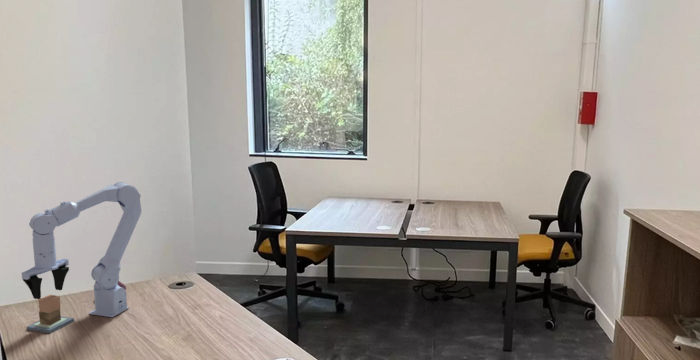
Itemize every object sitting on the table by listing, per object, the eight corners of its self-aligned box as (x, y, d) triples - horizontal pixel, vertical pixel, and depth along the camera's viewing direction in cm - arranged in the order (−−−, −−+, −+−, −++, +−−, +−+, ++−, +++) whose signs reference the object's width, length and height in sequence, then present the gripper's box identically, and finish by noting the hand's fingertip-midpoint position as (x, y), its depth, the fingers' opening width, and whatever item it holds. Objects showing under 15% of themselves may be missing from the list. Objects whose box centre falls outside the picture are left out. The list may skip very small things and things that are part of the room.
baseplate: (74, 321, 156) (73, 317, 155) (50, 333, 147) (49, 329, 147) (51, 317, 158) (51, 314, 158) (26, 329, 149) (26, 325, 149)
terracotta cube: (60, 308, 153) (59, 296, 152) (49, 313, 149) (48, 300, 149) (50, 306, 154) (49, 294, 154) (39, 311, 150) (38, 299, 150)
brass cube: (60, 319, 154) (59, 308, 153) (50, 325, 150) (49, 313, 149) (50, 318, 155) (49, 306, 154) (39, 323, 151) (38, 311, 150)
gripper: (32, 260, 141) (36, 304, 143) (74, 247, 155) (77, 287, 157) (14, 257, 143) (18, 301, 145) (57, 244, 157) (61, 284, 159)
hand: (48, 293), depth 151 cm, fingers open, 7 cm apart
